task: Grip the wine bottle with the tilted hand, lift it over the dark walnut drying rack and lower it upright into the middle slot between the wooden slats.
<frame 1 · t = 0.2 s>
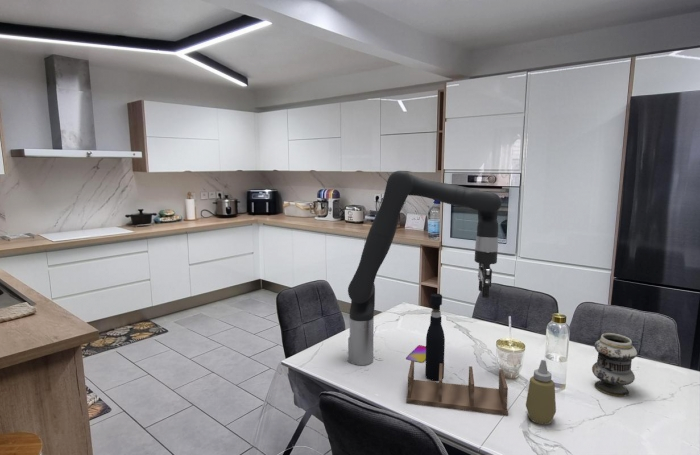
hand: (483, 294, 146), 29 cm above the table, tool pointing down, fingers open, 8 cm apart
apothecary jar: (611, 389, 137), on the table
slot rack: (455, 398, 132), on the table
squeeze bottle: (539, 419, 120), on the table
wine bottle: (434, 377, 146), on the table
smartphone: (420, 355, 165), on the table
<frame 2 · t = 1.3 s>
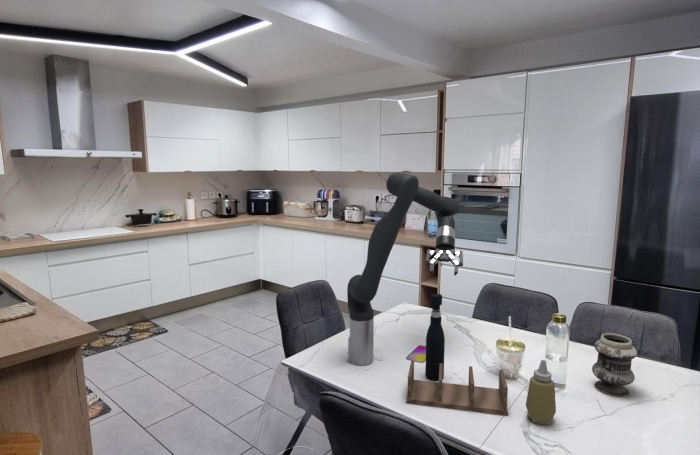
hand: (443, 273, 158), 34 cm above the table, tool tilted 45°, fingers open, 8 cm apart
nothing on the table moved.
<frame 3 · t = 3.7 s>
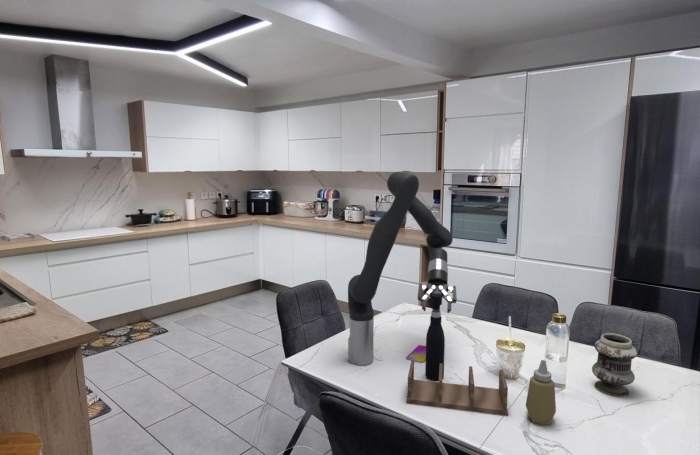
hand: (436, 311, 150), 22 cm above the table, tool tilted 45°, fingers open, 8 cm apart
nothing on the table moved.
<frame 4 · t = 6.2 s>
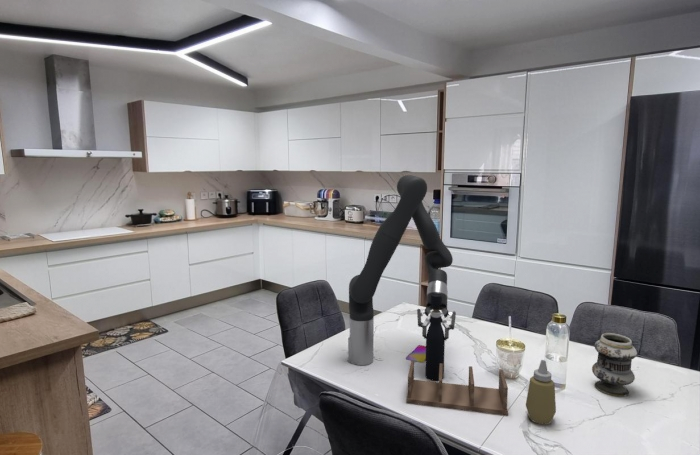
hand: (435, 338, 143), 15 cm above the table, tool tilted 45°, fingers closed on wine bottle, 6 cm apart
wine bottle: (434, 377, 146), on the table, touching gripper
everything else where it was.
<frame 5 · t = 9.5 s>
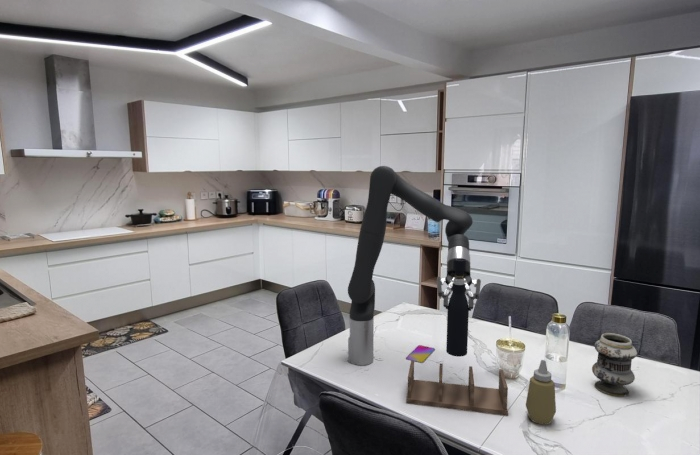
hand: (458, 308, 127), 30 cm above the table, tool tilted 45°, fingers closed on wine bottle, 6 cm apart
wine bottle: (456, 352, 130), point 15 cm above the table, touching gripper
everything else where it was.
when the fingers open (18 cm above the table, at t = 13.1 s): wine bottle drops 1 cm, resting on slot rack.
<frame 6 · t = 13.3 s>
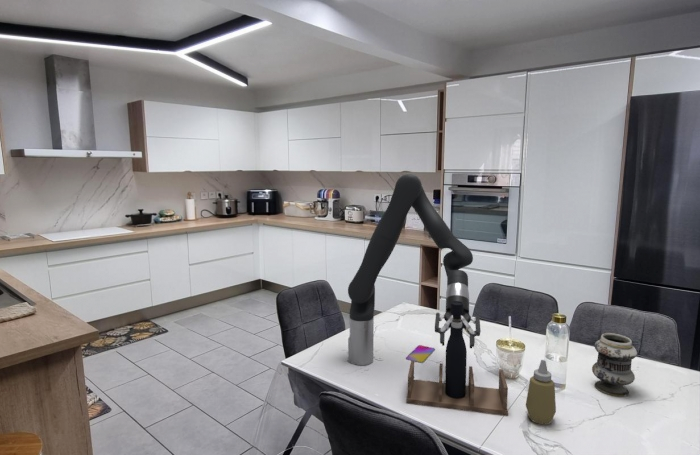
hand: (457, 346, 128), 18 cm above the table, tool tilted 45°, fingers open, 8 cm apart
wine bottle: (455, 393, 132), point 1 cm above the table, touching slot rack
everything else where it was.
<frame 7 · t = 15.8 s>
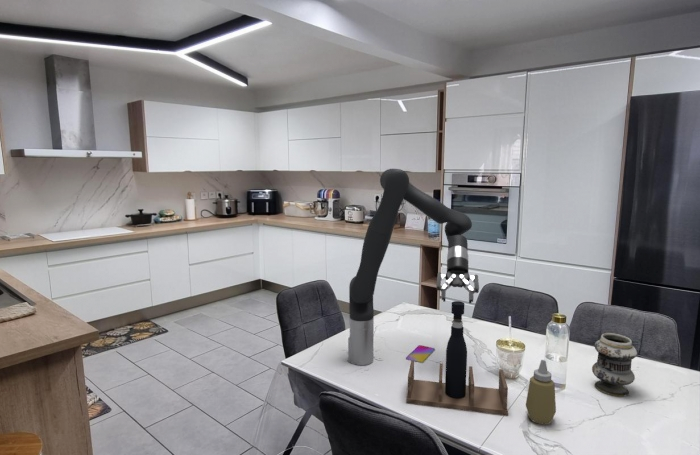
hand: (457, 301, 139), 29 cm above the table, tool tilted 45°, fingers open, 8 cm apart
nothing on the table moved.
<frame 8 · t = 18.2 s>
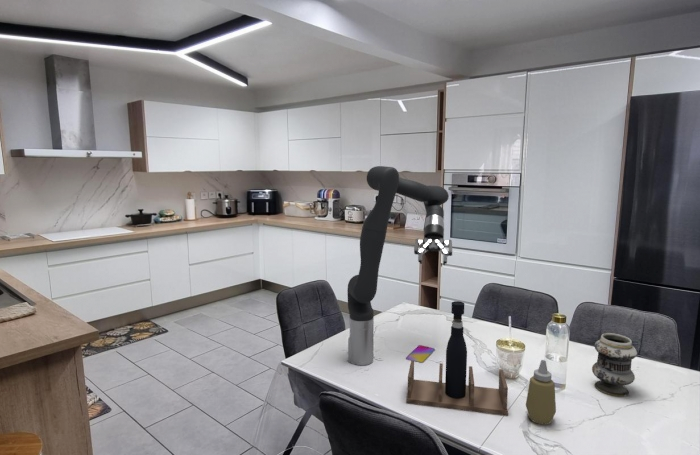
hand: (432, 263, 153), 39 cm above the table, tool tilted 45°, fingers open, 8 cm apart
nothing on the table moved.
at the end: wine bottle 0.2 cm off-centre on the slot rack, point 1.3 cm above the slot rack's base; wine bottle tilted 0°; the gripper is holding nothing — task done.
